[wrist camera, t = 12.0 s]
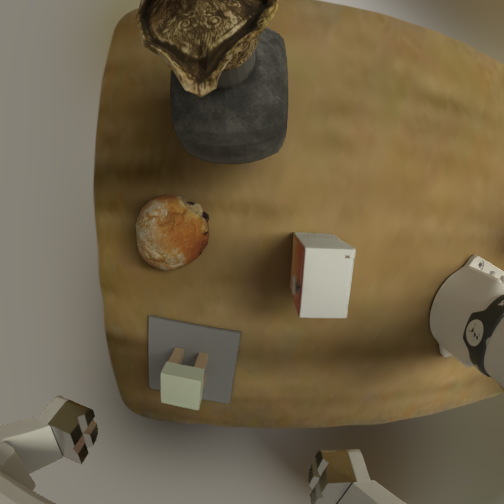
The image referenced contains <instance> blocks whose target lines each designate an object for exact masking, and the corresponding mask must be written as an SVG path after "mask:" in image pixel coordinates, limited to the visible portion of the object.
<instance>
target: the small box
mask: <svg viewBox="0 0 504 504" xmlns="http://www.w3.org/2000/svg"><path fill="white" fill-rule="evenodd" d="M355 253H356V249H354V248H353V247H351V246H350V245H348V244H347V243H345V242H344V241H342V240H341V239H339V238H338V237H336V236H335V235H333V234H324V233H305V232H293V253H292V266H291V280H290V288H291V292H292V295H293V299H294V302H295V306H296V309H297V313H298V316H299V318H347V313H348V303H349V296H350V288H351V281H352V273H353V265H354V259H355Z"/></svg>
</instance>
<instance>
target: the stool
mask: <svg viewBox="0 0 504 504" xmlns="http://www.w3.org/2000/svg"><path fill="white" fill-rule="evenodd" d="M183 357H184V349H181V348H176V347H175V349H174V351H173V353H172V355H171V357H170V359H169V361H168V362H166V363H165V365H164V367H163V369H162V371H161V402H162V403H166V404H170V405H175V406H179V407H184V408H189V409H194V410H199V408H200V404H201V400H202V394H203V389H204V385H205V381H206V374H207V373H204V372H205V369H206V365H207V362H208V353H202V352H199V355H198V357H197V360H196V363H195V366H194V367H192V366H186V365H181V362H182V359H183Z"/></svg>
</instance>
